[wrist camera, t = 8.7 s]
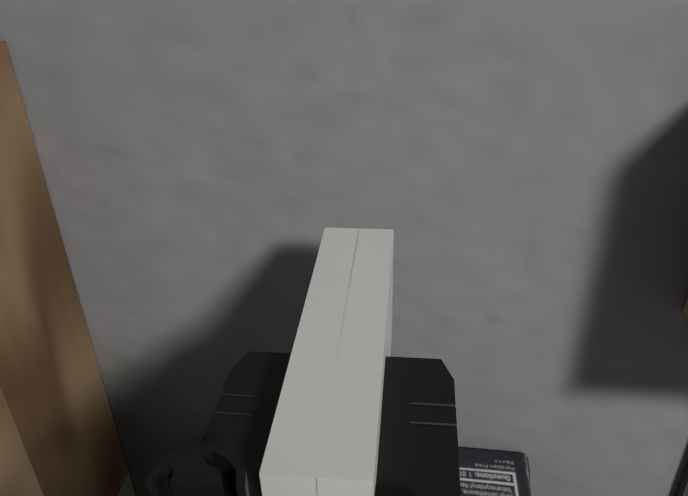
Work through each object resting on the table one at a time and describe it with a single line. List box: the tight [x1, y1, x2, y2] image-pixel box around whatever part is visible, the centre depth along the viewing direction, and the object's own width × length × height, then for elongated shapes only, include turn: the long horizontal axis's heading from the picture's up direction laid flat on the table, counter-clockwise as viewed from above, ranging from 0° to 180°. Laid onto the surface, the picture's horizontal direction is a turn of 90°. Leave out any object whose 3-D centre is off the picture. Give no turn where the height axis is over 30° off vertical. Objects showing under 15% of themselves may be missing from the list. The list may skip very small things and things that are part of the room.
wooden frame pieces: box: [0, 41, 688, 496], centre depth 18 cm, size 23×34×4 cm
